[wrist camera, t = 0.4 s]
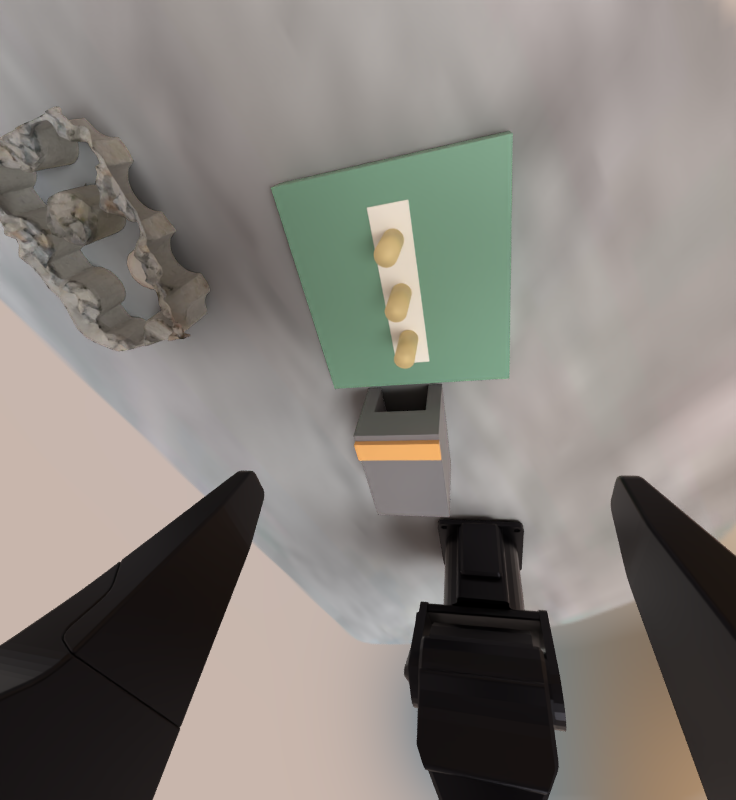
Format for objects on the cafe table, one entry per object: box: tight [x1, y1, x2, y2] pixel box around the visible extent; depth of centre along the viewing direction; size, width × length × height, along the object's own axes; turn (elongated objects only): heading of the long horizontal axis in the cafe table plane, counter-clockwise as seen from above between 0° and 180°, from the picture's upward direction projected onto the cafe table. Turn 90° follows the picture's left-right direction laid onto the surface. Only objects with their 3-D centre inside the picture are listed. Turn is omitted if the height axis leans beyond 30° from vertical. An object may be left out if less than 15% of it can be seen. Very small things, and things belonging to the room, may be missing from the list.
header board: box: [271, 131, 513, 389], centre depth 18 cm, size 11×10×3 cm
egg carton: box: [0, 107, 210, 351], centre depth 20 cm, size 11×8×4 cm
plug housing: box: [354, 384, 451, 517], centre depth 24 cm, size 7×5×5 cm, turn 13°
